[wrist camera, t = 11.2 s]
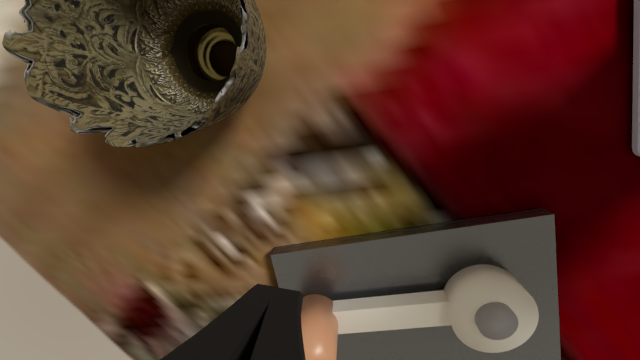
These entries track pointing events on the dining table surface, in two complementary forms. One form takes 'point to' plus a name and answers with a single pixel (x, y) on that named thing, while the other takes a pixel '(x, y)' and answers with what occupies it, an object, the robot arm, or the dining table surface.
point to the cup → (139, 63)
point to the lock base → (431, 279)
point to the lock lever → (429, 313)
